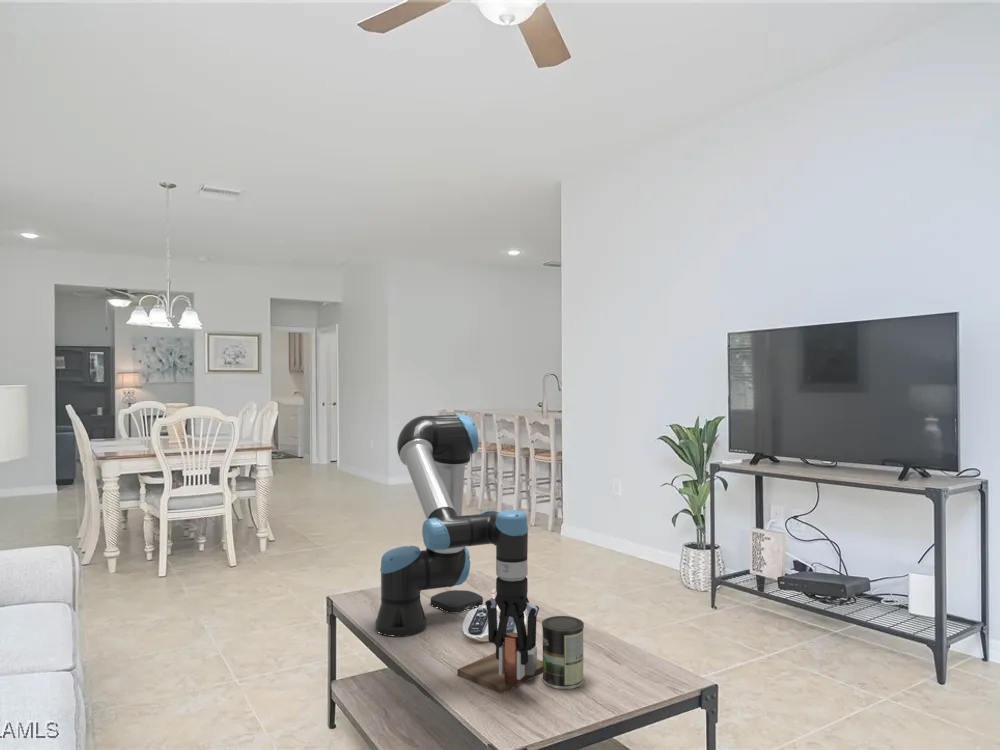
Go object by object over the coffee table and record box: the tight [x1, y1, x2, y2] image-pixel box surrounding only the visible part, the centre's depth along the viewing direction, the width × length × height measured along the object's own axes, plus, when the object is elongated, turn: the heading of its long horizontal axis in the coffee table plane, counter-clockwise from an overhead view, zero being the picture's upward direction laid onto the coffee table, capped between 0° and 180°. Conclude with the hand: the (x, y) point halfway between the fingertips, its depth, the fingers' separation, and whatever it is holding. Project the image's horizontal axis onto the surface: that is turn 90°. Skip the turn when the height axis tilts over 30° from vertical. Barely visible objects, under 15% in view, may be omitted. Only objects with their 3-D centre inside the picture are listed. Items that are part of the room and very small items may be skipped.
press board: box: [456, 651, 543, 694], centre depth 171 cm, size 15×18×2 cm
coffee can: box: [541, 615, 585, 690], centre depth 166 cm, size 10×10×14 cm
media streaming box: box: [430, 589, 484, 613], centre depth 224 cm, size 15×15×3 cm
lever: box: [503, 632, 538, 686], centre depth 168 cm, size 18×7×11 cm, turn 166°
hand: (511, 675), depth 161 cm, fingers closed on lever, 4 cm apart
